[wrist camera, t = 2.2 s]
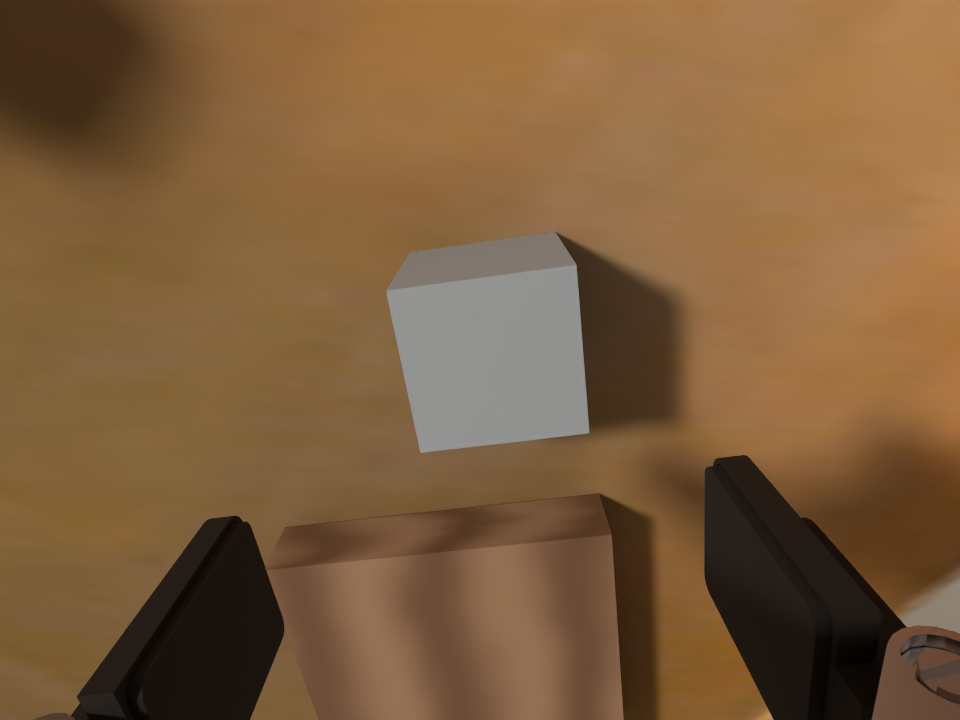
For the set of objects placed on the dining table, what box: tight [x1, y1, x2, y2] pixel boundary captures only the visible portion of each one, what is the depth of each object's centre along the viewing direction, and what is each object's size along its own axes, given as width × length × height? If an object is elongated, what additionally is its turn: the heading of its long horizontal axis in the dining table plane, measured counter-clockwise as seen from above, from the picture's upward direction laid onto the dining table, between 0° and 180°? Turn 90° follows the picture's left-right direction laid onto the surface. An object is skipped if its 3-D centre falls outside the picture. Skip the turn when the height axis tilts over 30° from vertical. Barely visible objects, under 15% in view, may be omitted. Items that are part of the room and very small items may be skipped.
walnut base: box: [265, 494, 624, 720], centre depth 30 cm, size 16×16×3 cm
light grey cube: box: [386, 232, 589, 453], centre depth 21 cm, size 6×6×6 cm
